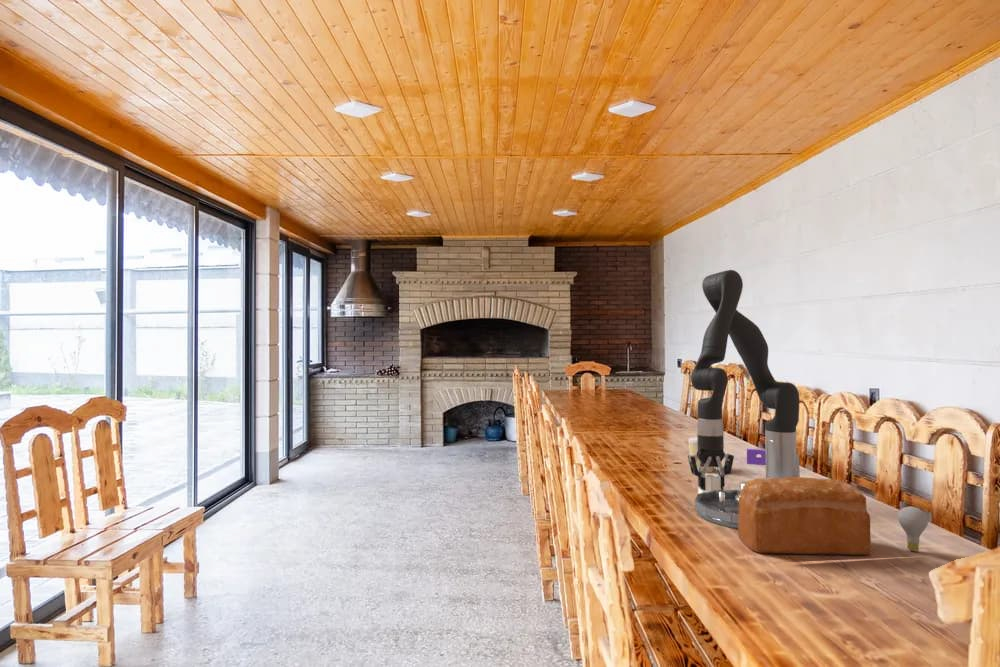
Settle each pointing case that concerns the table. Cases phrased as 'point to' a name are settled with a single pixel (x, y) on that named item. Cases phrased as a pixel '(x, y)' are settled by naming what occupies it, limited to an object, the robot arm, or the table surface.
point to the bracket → (756, 460)
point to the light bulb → (913, 525)
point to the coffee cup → (694, 449)
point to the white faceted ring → (711, 483)
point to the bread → (803, 517)
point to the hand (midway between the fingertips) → (711, 488)
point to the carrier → (720, 506)
